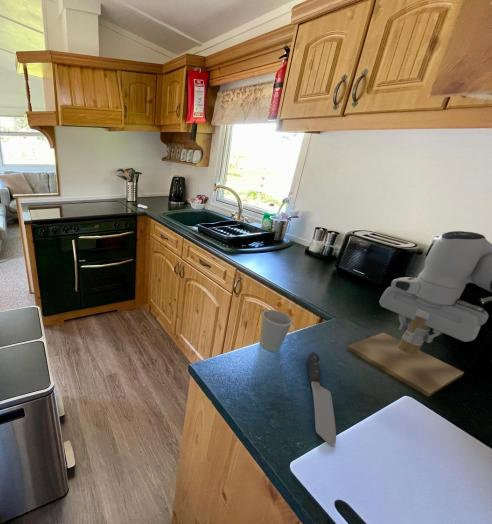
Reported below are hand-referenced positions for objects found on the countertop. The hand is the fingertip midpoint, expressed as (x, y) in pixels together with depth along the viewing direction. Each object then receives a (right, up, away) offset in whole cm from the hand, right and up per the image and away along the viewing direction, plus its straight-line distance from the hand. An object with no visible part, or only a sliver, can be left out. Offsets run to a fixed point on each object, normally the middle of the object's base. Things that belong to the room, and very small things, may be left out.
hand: (414, 335), depth 81 cm
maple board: (-1, -8, +3) cm, 9 cm away
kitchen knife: (-34, -12, -11) cm, 37 cm away
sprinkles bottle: (0, -5, +2) cm, 5 cm away
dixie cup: (-38, -5, +6) cm, 39 cm away
